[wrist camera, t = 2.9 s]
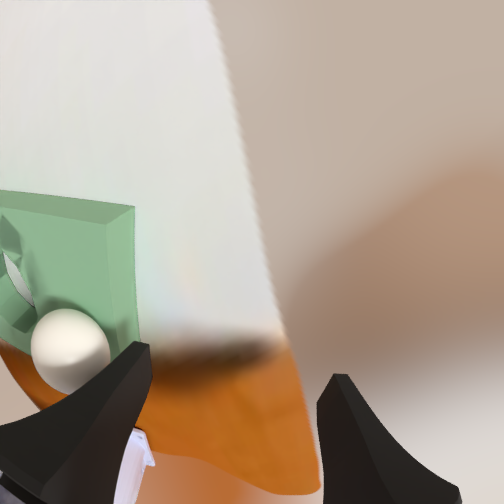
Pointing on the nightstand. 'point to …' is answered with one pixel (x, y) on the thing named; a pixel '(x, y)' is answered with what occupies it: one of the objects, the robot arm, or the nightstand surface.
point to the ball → (68, 349)
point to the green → (68, 265)
